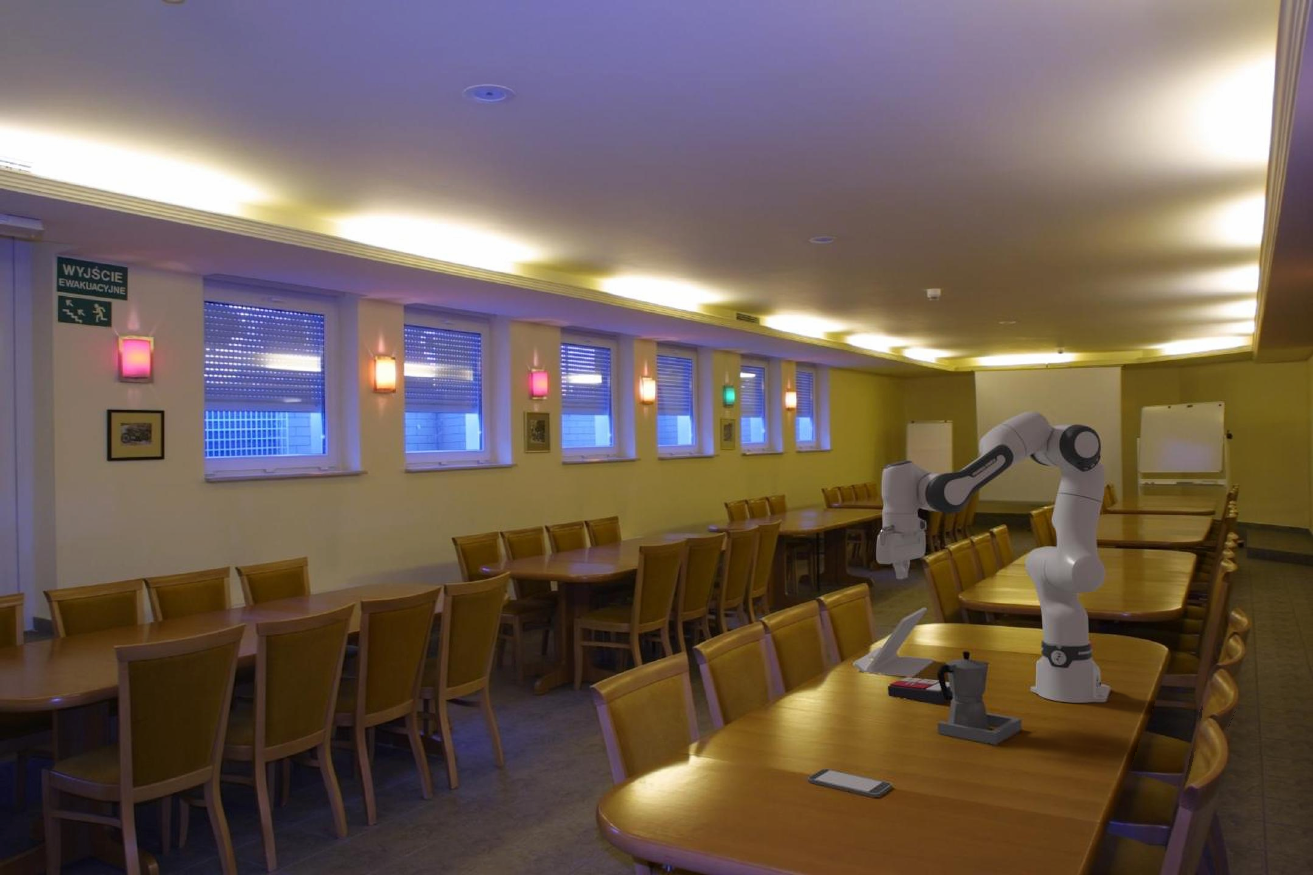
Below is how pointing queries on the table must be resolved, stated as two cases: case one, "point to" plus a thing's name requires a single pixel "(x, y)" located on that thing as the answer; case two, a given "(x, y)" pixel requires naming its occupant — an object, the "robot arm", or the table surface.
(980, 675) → the coffeepot
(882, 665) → the tablet stand
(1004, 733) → the dock
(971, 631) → the table surface
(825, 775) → the smartphone
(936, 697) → the calculator
